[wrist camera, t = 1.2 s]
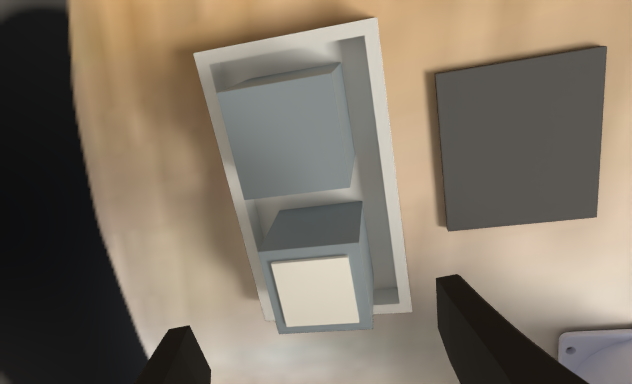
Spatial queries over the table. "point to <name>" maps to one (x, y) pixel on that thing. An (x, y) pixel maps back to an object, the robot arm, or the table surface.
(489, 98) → the dark grey square plate
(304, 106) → the plain block
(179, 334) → the robot arm
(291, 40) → the parts tray
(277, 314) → the labelled block
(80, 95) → the table surface
